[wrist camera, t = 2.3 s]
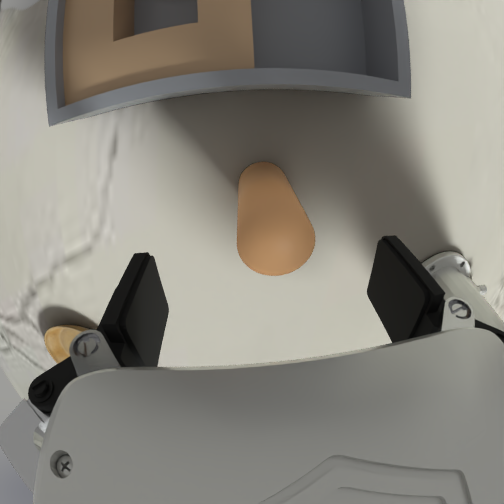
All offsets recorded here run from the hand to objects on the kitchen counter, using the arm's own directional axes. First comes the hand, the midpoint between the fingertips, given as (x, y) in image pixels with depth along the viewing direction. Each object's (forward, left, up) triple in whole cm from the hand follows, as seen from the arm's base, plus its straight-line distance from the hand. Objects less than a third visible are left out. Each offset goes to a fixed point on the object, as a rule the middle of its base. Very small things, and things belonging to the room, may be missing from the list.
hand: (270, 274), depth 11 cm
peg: (-1, 0, -13) cm, 13 cm away
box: (+2, -15, -13) cm, 20 cm away
